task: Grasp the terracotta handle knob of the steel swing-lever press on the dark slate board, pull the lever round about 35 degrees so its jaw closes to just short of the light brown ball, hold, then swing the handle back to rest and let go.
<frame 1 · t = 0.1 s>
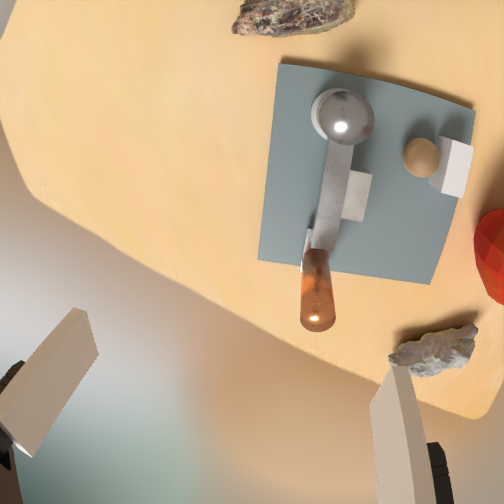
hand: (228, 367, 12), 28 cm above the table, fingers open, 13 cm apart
light brown ball: (414, 154, 31), point 1 cm above the table, touching board
rock: (292, 19, 28), on the table
board: (368, 180, 35), on the table
apple: (489, 231, 35), on the table
lever: (338, 203, 29), point 8 cm above the table, hinge at 0.0°
mineral specimen: (431, 339, 44), on the table
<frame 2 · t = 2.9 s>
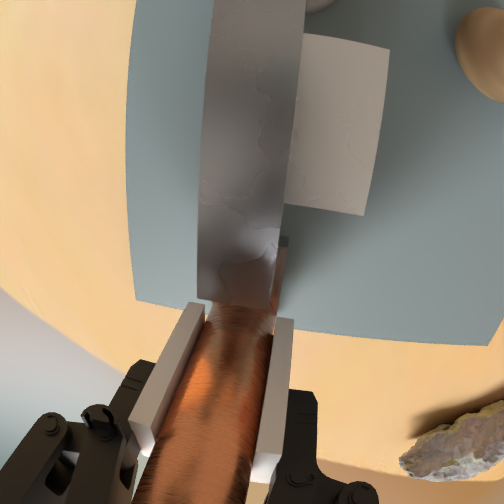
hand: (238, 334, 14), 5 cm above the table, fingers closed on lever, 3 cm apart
light brown ball: (477, 58, 10), point 1 cm above the table, touching board
board: (376, 117, 13), on the table
lever: (262, 139, 7), point 8 cm above the table, hinge at 0.0°, touching gripper
mineral specimen: (469, 417, 22), on the table
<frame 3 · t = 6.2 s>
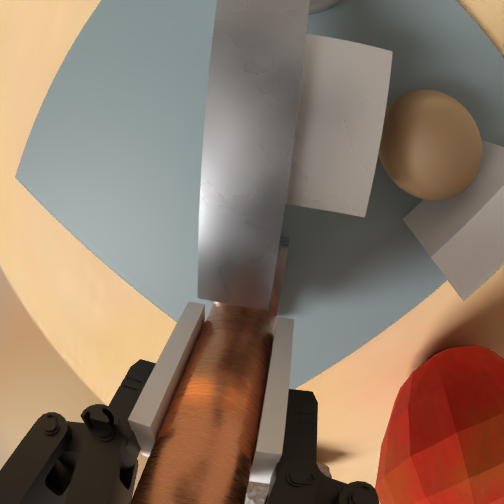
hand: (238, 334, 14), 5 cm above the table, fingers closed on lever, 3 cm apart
light brown ball: (412, 138, 12), point 1 cm above the table, touching board
board: (273, 132, 14), on the table
apple: (439, 367, 19), on the table
lever: (264, 140, 7), point 8 cm above the table, hinge at 34.5°, touching gripper
mineral specimen: (256, 451, 28), on the table
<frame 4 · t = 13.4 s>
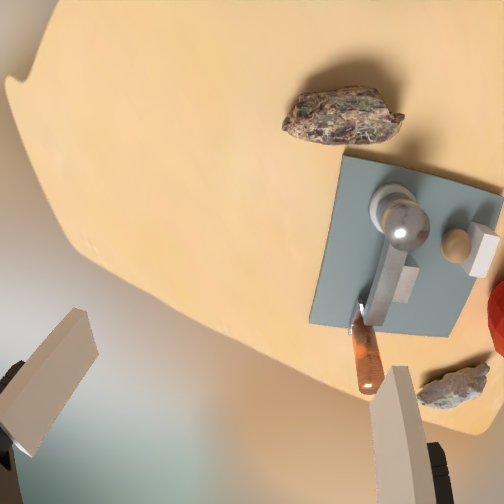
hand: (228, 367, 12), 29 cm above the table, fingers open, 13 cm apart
light brown ball: (449, 238, 36), point 1 cm above the table, touching board
rock: (339, 119, 33), on the table
board: (409, 259, 39), on the table
apple: (500, 291, 39), on the table
lever: (392, 294, 33), point 8 cm above the table, hinge at 1.0°
mineral specimen: (451, 376, 48), on the table
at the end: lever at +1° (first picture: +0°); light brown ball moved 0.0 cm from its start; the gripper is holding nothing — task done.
